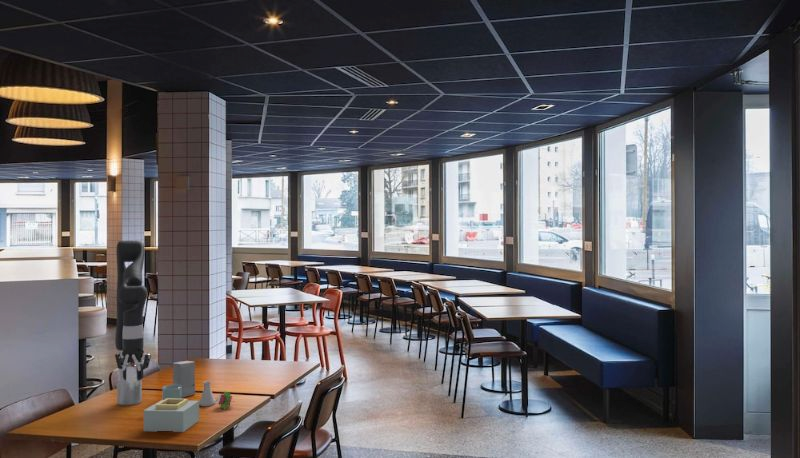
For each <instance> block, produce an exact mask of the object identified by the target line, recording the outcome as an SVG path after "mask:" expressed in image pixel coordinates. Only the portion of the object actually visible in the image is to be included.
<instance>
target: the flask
mask: <svg viewBox="0 0 800 458" xmlns="http://www.w3.org/2000/svg"><path fill="white" fill-rule="evenodd" d="M211 383H212V381H208V380H206V381H204V382H203V383H202V384H203V391H202V394H201V398H200V400H199V407H200V406H201V407H210V406H213V405H216V404H217V402H216V399H215V396H214V394H213V392H212V389H211Z"/></svg>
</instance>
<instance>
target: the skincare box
mask: <svg viewBox="0 0 800 458" xmlns="http://www.w3.org/2000/svg"><path fill="white" fill-rule="evenodd" d="M195 365H196V362H195V361H192V360H191V361H190V360H184V361H177V362H173V363H172V385H181V399H184V398H186V397H190V396H195V395H196V366H195Z"/></svg>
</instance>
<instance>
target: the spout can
mask: <svg viewBox="0 0 800 458" xmlns="http://www.w3.org/2000/svg"><path fill="white" fill-rule="evenodd" d="M139 388H140V380H138V368H137V366H136V365H135V363H133V362H131V365H127V366H126V390H136V389H139Z"/></svg>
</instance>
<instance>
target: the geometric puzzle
mask: <svg viewBox="0 0 800 458" xmlns="http://www.w3.org/2000/svg"><path fill="white" fill-rule="evenodd" d="M232 399H234V398H233V396H232V392H227V391H223V393H221V394H218V395H217V396H216V399H215V401H216V404H218V406H219V408H222V409H228V407H230V406H231V404H232V402H233V403H234V400H232Z"/></svg>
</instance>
